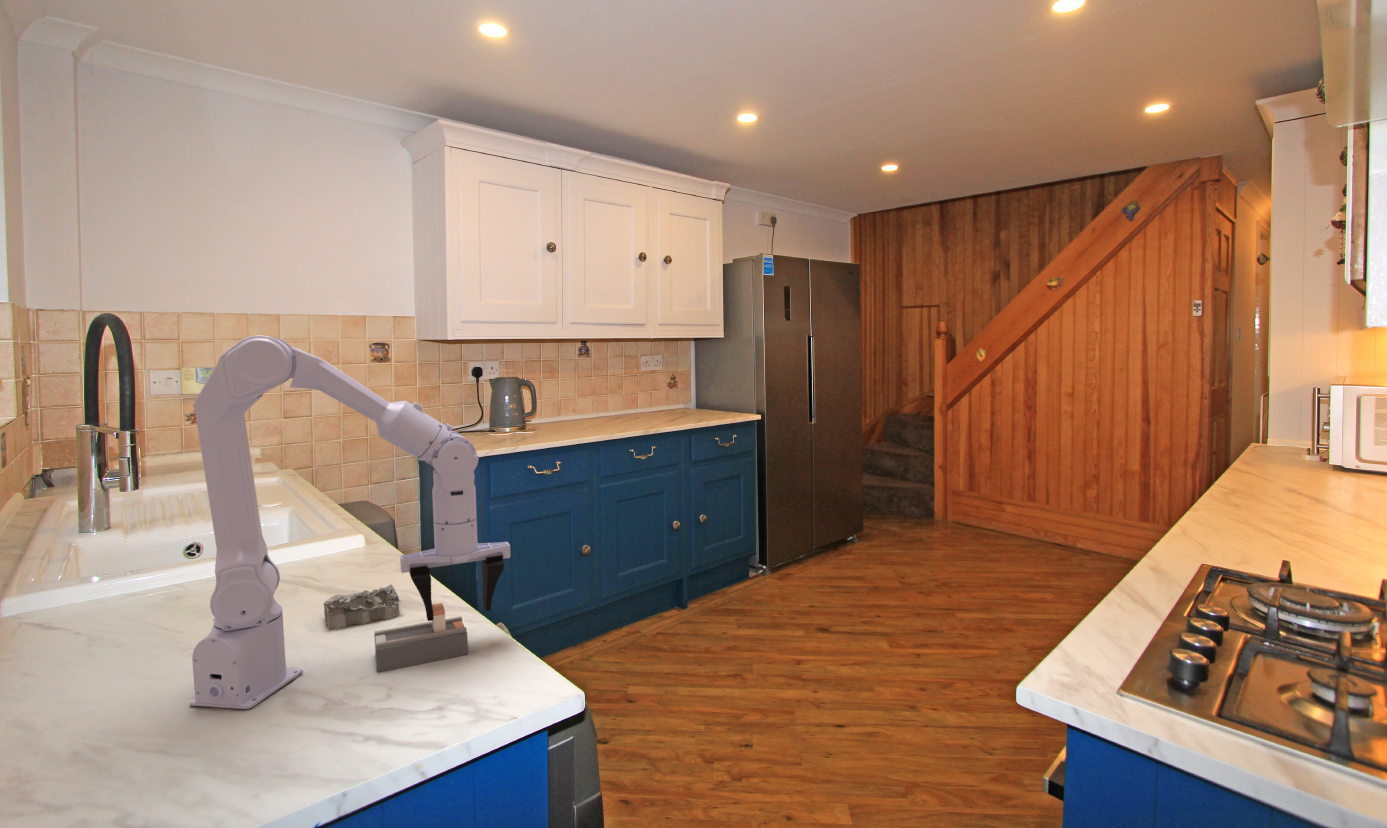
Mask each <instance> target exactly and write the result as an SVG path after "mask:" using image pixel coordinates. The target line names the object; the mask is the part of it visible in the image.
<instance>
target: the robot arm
mask: <svg viewBox="0 0 1387 828" xmlns="http://www.w3.org/2000/svg"><path fill="white" fill-rule="evenodd" d="M290 379H292V380H291V383H290V388H295V389H304V390H305V389H306V390H307V389H308V390H316V391H317V390H318V391H320V392H322V393H323V394H324V395H327V396H329V397H330V398H332V399H334V400H336V401H338V402H340V403H341V404H343V405H345V406H347V407H349V408H350V409H352V410H354V411H356V412H357V413H359V414H361V415H362V416H364V417H367V418H368V419H369V420H371V421H373V422H375V424H376V430H377V433H378V437H380V438H381V439H383V440H385V441H387V442H389V443H390V444H391V445H394V446H395V447H397V448H398V449H400V450H402V451H403V452H404V453H405V452H406V453H407V454H409V455H410V456H412V457H413V458H416V459H417V460H418V461H428V462H429V464H430V466H431V467H433V472H432V473H433V475H432V476H433V477H432V478H433V487H432V490H431V493H432V494H431V495H432V515H433V517H432V518H433V539H434V540H433V541H434V548H431V549H427V550H422V551H417V552H414V553H409V554H402V555H401V554H400V556H399V563H400V572H401V574H405V573H409V576H410V579H411V581H412V582H413V584H414V586H415V588H416V590H417V592H418V593H419V595H420V598H421V600H422V602H423V605H424V608H425V609H424V610H425V613H426V616H425V617H426V619H427V621H428V622H432V620H433V608H432V605H433V602H432V577H431V573H430V572H431V570H430V568H436V567H437V568H439V567H444V566H450V565H459V564H465V563H472V562H481V569H482V570H481V572H482V606H483V609H484V611H485V612H490V611H491V610H492V601H493V596H494V594H495V590H496V587H497V584H498V582H499V579H500V577H501V574H502V573H503V571H504V568H505V561H504V559H510V558H511V544H510V543H509V542H508V541H502V542H501V541H500V542H485V543H484V542H481V543H479V542H478V521H477V494H476V493H477V492H476V491H477V490H476V489H477V488H476V485H475V479H476V478H475V473H474V471H475V470H476V468H477V466H478V465H479V464H478V463H479V458H480V456H479V455H477V454H478V453H477V450H476V448H475V447H474V444H473V443H472V442H471V441H470V440H468V438H466V437H464V436H463V435H461V433H460V432H458V431H454V426H452V425H451V424H449V422H448V423H445V424H443V423H442V422H441V421H439V420H437V419H435V418H434V417H432V416H431V415H429V414H427V413H426V412H425V411H423V410H424V406H423V405H421V404H419V403H418V402H417V401H414V402H413V403H410V402H409V401H407V400H399V401H394V402H390V401H388V400H386V399H385V398H383V397H382V396H380V395H379V394H377V393H375V392H374V391H372V390H371V389H369V388H368V387H366V386H365V385H364V384H362V383H360V382H358V381H357V380H356V379H354V378H352V376H349V374H346V373H345V372H343V371H342V370H341V369H339V368H337V367H336V366H334V365H333V364H331V363H329V362H328V361H326V360H324V359H323V358H320V357H319V356H317V355H313V354H312V353H309V351H308V352H307V351H305V350H302V349H301V348H298V347H293V346H291V345H290V344H289V343H288V342H287V341H284V340H283V339H280V338H277V337H275V336H274V337H273V336H267V335H256V334H255V335H250V336H247V337H245V338H243V339H241V340H240V341H238V342H236V343H235V344H234V345H233V346H231V347H230V348H229V349H227V350H226V351H225V352H223V353H222V354H221V355H220V356H219V359H218V361H217V362H216V365H215V367H214V369H213V371H212V372H211V374H210V375H209V377H208V378H207V380H206V382H205V383H204V385H203V387H202V388H201V391H200V392H199V393H198V396H197V397H196V398H195V401H194V411H195V412H194V413H195V419H196V425H197V426H196V428H197V432H198V439H199V445H200V452H201V457H202V464H203V470H204V476H205V482H206V490H207V496H208V502H209V508H210V514H211V522H212V527H213V533H214V534H213V535H214V539H215V540H214V541H215V546H216V556H215V565H214V567H215V568H214V574H215V581H216V582H215V588H214V591H213V593H212V595H211V597H210V601H209V605H210V606H209V607H210V611H211V614H212V616H213V617H214V618H213V621H212V622H213V626H212V628H211V630H210V632H209V633H208V634H207V636H205V637H204V638H203V639H201V640H200V641H199V642H198V643H197V644H196V645H195V647H194V649H193V652H192V661H191V662H192V674H193V686H194V698H192V699H191V700H190V701H189V705H190V706H194V707H210V708H224V709H225V708H226V709H237V710H239V709H240V710H249V709H251V708H253V707H254V706H257V705H258V704H259V703H260V702H261V701H263V700H265V699H266V698H268V697H269V696H270V695H272V694H273V693H275V692H277V691H278V690H280V688H282V687H284V686H285V685H286V684H288V683H289V682H292V680H294V679H295V678H297V677H298V676H300V675H301V674H302V673H303V672H304V671H303V668H298V667H297V668H295V667H287V665H286V664H287V663H286V648H285V645H286V644H285V631H284V617H283V616H284V615H283V613H284V612H283V606H282V605H280V604H279V603H278V602H277V601H276V599H275V597H274V595H275V592H276V590H277V589H278V587H279V585H280V580H281V574H280V571H279V568H278V566H277V565H276V564H275V563H274V562H273V561H272V559H271V558H270V556H269V553H268V546H267V544H266V541H265V539H264V536H263V532H262V526H261V525H262V524H261V519H260V512H259V505H258V497H257V490H256V485H255V477H254V476H255V475H254V470H253V465H252V463H253V462H252V457H251V452H250V443H249V437H248V436H249V435H248V430H247V423H246V417H245V415H246V413H247V412H248V411H249V410H250V409H251V408H252V407H253V406H254V405H255V404H256V403H257V402H258V401H259V400H260V399H261V398H262V397H263V395H264V394H265V393H267V392H269V391H270V390H273V389H275V388H277V387H279V386H280V385H282V384H283V383H286V382H287V381H288V380H290Z"/></svg>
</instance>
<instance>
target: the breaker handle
mask: <svg viewBox="0 0 1387 828" xmlns="http://www.w3.org/2000/svg"><path fill="white" fill-rule="evenodd" d="M432 608H433V620H432V621H431V622H432V627H433V631H434V632H440V631H445V630H446V626H445V619H446V609H445V606H444V603H442V602H439V603H434V604H433V603H432Z"/></svg>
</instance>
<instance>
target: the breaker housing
mask: <svg viewBox="0 0 1387 828" xmlns="http://www.w3.org/2000/svg"><path fill="white" fill-rule="evenodd" d="M445 626H446V630H445V631H440V632H434V631H433V627H432V621H428V622H423V623H422V622H421V623H417V624H416V623H415V624H410V625H403V626H398V627H393V628H387V629H386V628H385V629H381V630H375V631H374V633H373V634H374V635H373V636H374V637H373V638H374V650H375V651H374V653H375V664H376V665H375V666H376V672H377V673H379V672H380V673H381V672H385V671H390V670H395V669H400V668H405V667H411V666H415V665H421V664H425V663H426V664H427V663H431V662H435V661H441V659H442V660H445V659H446V658H447V659H451V658H456V657H457V658H458V657H460V656H461V655H462V656H467V655H468V654H469V646H468V645H469V643H468V641H469V640H468V630H467V627H466V626H465V624H464V623H463V617H462V616H457V617H450V618H445Z"/></svg>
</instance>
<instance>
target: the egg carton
mask: <svg viewBox="0 0 1387 828" xmlns="http://www.w3.org/2000/svg"><path fill="white" fill-rule="evenodd" d="M401 601H402V600H400V597H399V595H398V593H397V591H396V589H395V587H394V586H393V584H389V585H387V586H386V587H380V588H379V589H372V590H371V591H369V590H367V589H365V590H363V591H361V592H356V593H351V594H348V595H343V594H336V595H333V596H330V598H328V599H326V600H325V601H324V602H323V609H324V610H323V615H324V620H325V622H327V629H328V630H330V629H332V630H333V629H334V630H335V629H336V630H343V629H346V628H347V627H348V626H350V625H354V624H356V625H357V624H358V625H359V624H361V625H366V624H370V623H371V622H372V621H375V620H379V619H378V618H385V619H384V620H390V619H389V618H391V619H393V618H394V617H395V616H397V615H396V614H398V613H399V614H400V603H401ZM384 604H385V605H384ZM386 605H388V606H386ZM399 614H398V615H399ZM394 615H395V616H394ZM393 616H394V617H393ZM392 617H393V618H392ZM374 619H375V620H374ZM371 620H372V621H371ZM370 621H371V622H370Z"/></svg>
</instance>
